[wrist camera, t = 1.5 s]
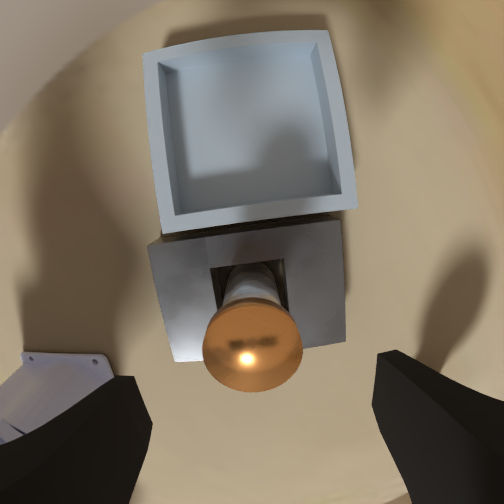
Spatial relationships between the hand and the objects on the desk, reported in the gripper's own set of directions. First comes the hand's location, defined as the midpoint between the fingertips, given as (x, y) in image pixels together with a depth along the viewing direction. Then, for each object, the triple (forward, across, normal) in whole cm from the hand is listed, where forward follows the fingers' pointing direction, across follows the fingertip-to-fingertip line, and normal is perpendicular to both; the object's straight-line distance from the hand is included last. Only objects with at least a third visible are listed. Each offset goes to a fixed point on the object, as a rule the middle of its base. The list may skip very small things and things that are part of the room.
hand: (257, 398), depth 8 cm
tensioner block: (+10, 0, 0) cm, 11 cm away
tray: (+11, -1, -9) cm, 14 cm away
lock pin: (+10, 0, 0) cm, 11 cm away
